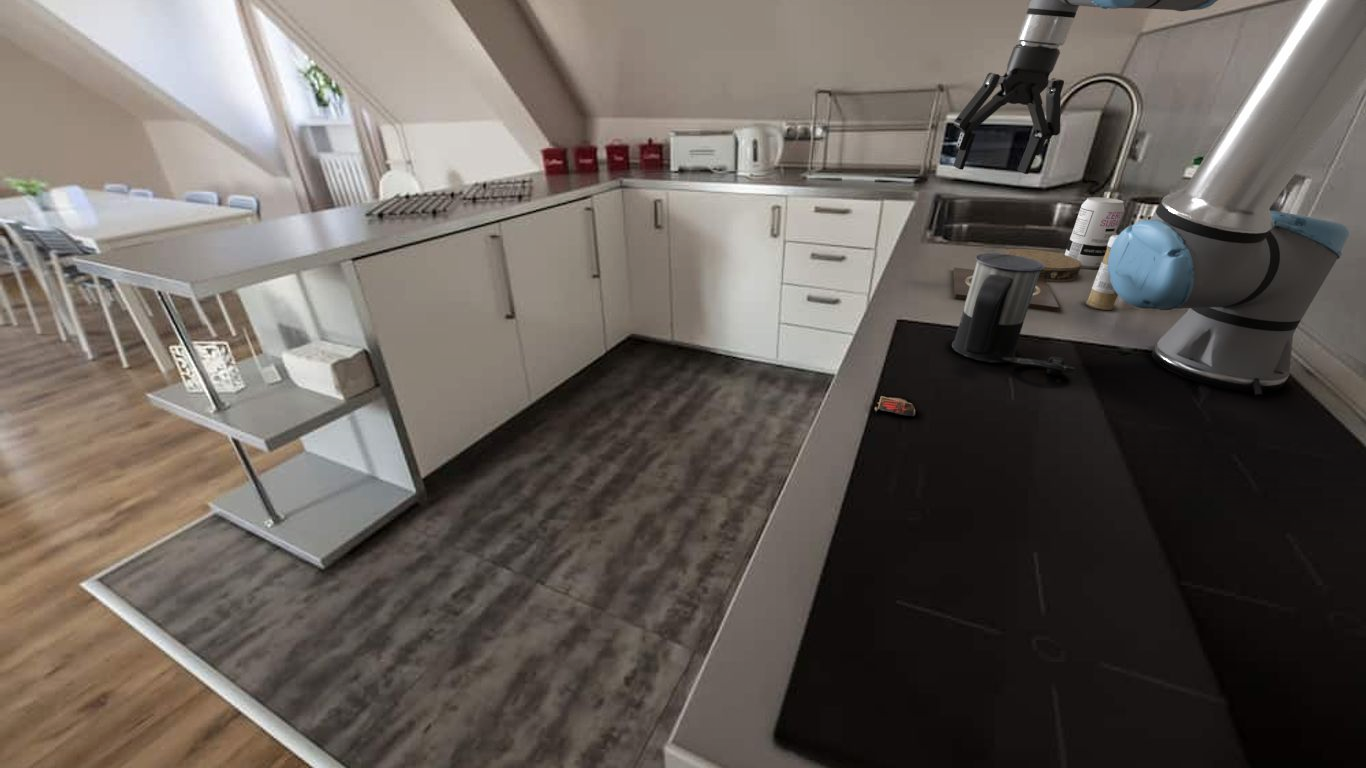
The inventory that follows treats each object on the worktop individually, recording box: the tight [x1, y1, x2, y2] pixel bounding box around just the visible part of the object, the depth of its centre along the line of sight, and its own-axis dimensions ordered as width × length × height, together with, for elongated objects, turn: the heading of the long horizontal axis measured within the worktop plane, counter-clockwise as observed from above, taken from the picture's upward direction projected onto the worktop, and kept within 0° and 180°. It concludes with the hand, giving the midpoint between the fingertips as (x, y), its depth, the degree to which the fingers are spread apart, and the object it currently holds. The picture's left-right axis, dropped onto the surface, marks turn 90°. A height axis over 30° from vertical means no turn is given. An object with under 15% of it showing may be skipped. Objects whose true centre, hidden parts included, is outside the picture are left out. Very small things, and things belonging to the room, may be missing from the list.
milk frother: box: [951, 252, 1076, 376], centre depth 83 cm, size 14×16×15 cm
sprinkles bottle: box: [1085, 234, 1119, 311], centre depth 105 cm, size 5×5×14 cm
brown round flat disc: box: [1001, 248, 1081, 283], centre depth 128 cm, size 16×16×3 cm
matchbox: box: [874, 395, 916, 417], centre depth 73 cm, size 5×5×1 cm
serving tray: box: [952, 267, 1060, 313], centre depth 116 cm, size 20×18×1 cm
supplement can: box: [1064, 196, 1125, 269], centre depth 131 cm, size 8×8×15 cm
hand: (990, 170), depth 110 cm, fingers open, 13 cm apart
